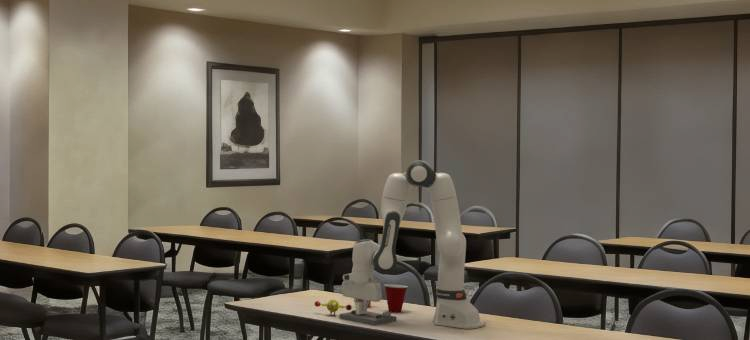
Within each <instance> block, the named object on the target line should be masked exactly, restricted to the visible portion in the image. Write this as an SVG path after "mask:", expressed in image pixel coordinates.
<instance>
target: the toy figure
mask: <svg viewBox="0 0 750 340" xmlns="http://www.w3.org/2000/svg"><path fill="white" fill-rule="evenodd" d="M314 306H315V307H317V308H318V307H320V306H322V307H326V308H327V310H328V312H329V316H335V317H336V312H337V311H338V310H339V309H344V308H345V310H347V311H352V310H353V309H352V308H353V307H352V305H351V304H347V305H345V306H344V305H340V304H339V302H338V301H337V300H336V299H331V300H329V301H327V302H325V303H321V302H320V301H319V300H316V301H315V302H314Z"/></svg>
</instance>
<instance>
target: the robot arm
mask: <svg viewBox="0 0 750 340" xmlns="http://www.w3.org/2000/svg"><path fill="white" fill-rule="evenodd" d="M416 187H418V188H419V187H420V188H421V187H422V188H426V189H427V190H428V193H429V196H430V201H431V208H432V213H433V219H434V229H435V238H436V245H437V250H438V252H439V259H438V270H437V288H436V291H435V293H436V295H435V297H436V304H435V305H436V306H435V310H434V311H435V312H434V315H433V319H432V322H433V323H434V326H435V325H436V326H443V327H449V328H450V327H451V328H455V329H456V328H457V329H465V330H471V329H472V330H473V329H478V328H483V327H484V326H485V325H486V323H485V322H483V321H480V313H479V310H478V309H477V308H476V307H475V306H474V305H473V304H472V303H471V301H469V299H467V296H468V295H469V293H470V292H466V291H465V289H464V287H465V285H464V283H465V265H466V264H465V263H466V251H467V238H466V237H465V235H464V234H463V231H462V230H463V229H462V222H461V213H460V209H459V207H460V206H459V203H458V196H457V191H456V188H455V185H454V182H453V179H452V176H451V175H450V174H449V173H446V172H435V171H434V169H432V167H431V166H430V164H429V163H428V162H426V161H424V160H415V161H412V162H411V163H409V165H408V167H407V168H406V171H404V173H403V172H394V173H391V174H390V175H388V177H387V179H386V182H385V184H384V188H383V190H382V191H383V192H382V196H381V203H380V213H381V217H382V224H383V228H382V229H383V230H382V235H381V241H380V244H378V243H376V242H374V241H373V240H372V238H371V239H370V238H364V239H359V240H357V241H355V242H354V243H353V246H352V248H353V249H352V255H351V256H352V258H351V260H352V269H351V272H350V273H346V274H343V275H342V280H343V281H342V283H341V294H342V296H343V297H344V298H345V297H346V298H351V299H353V302H354V305H355V306H356V302H359V299H362V300H364V305H363V306H362V310H367V311H368V308H367V306H368V304H369V301H371V302H372V303H373V302H375V303H377V302H378V303H379V302H381V301H382V299H383V298H382V297H383V296H382V283H381V282H380V281H379V279H375V278H373V279H372V277H374V275H373V270H375V272H376V273H379V274H381V275H391V273H393V272H394V271H395V270H396V268H397V266H398V258H397V254H396V246H397V241H398V235H399V230H400V226H401V223H402V221H403V218H404V215H405V212H406V210H407V205H408V202H409V196H410V193H411V190H412V189H413V188H416Z"/></svg>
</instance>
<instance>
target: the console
mask: <svg viewBox="0 0 750 340" xmlns="http://www.w3.org/2000/svg"><path fill="white" fill-rule="evenodd" d="M339 319H340V320H345V321H349V322H355V323H360V324H363V325H364V324H365V325H368V326H369V325H370V326H379V325H385V324H390V323H395V322H397V316H395V315H392V312H389V311H382V313H378V312H373V311H368V310H367V313H364V314H356V309H352V310H350V311H349V312H343V313H339Z"/></svg>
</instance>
